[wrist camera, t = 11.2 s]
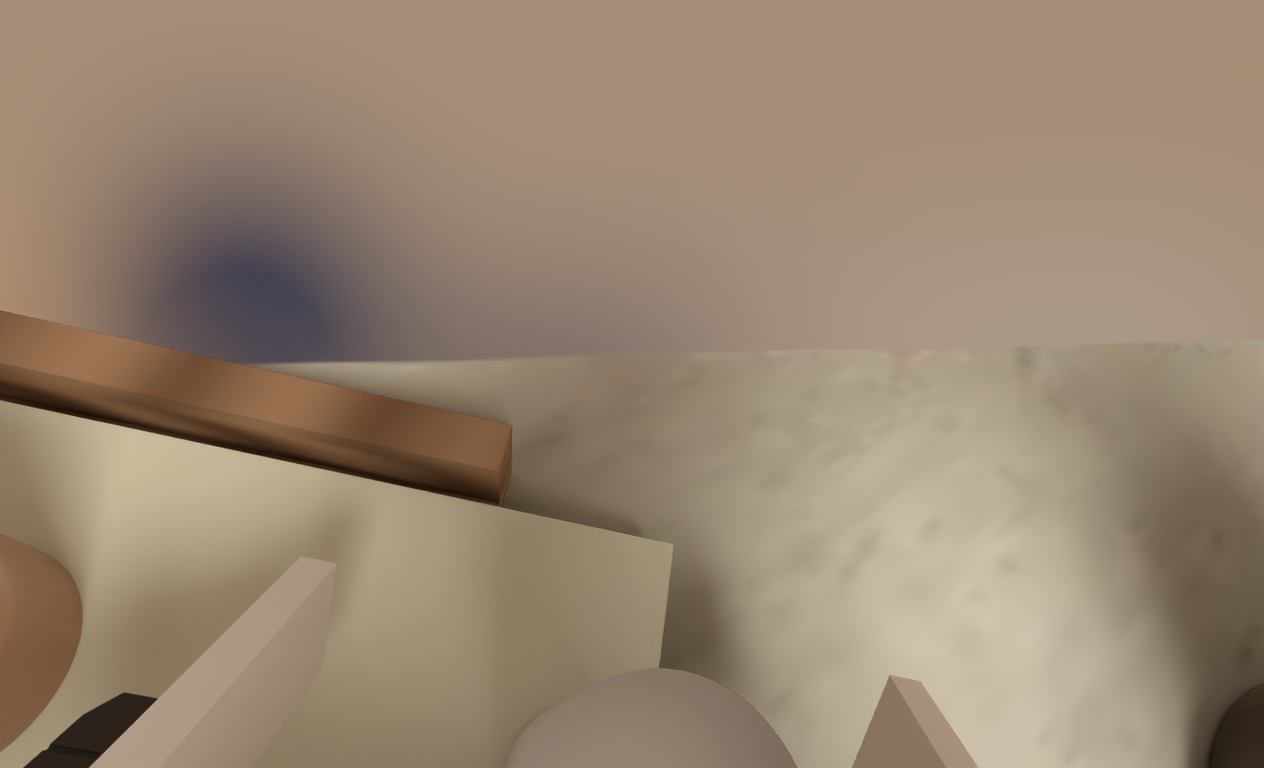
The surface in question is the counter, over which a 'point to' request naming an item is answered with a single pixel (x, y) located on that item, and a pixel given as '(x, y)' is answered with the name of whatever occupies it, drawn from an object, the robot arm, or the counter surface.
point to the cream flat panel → (364, 608)
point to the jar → (33, 633)
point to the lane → (251, 410)
